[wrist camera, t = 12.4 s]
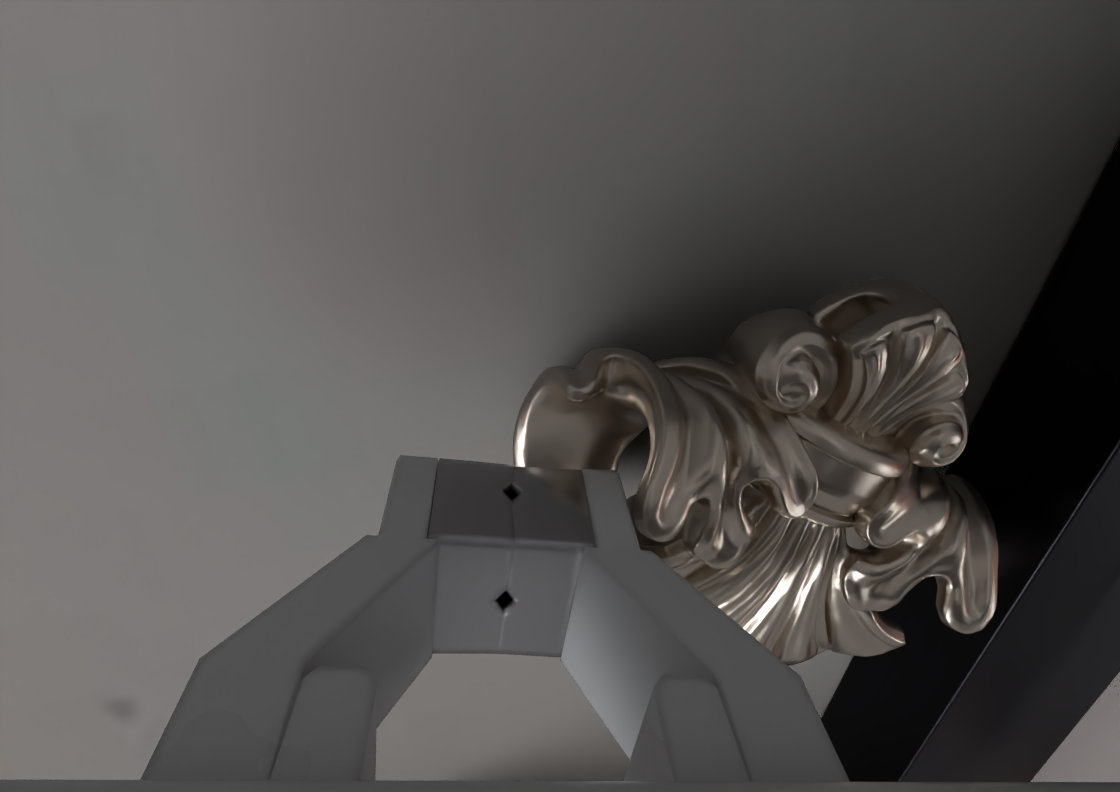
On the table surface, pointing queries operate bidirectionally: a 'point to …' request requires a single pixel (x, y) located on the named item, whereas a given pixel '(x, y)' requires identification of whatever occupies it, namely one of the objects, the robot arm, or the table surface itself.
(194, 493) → the table surface
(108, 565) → the table surface
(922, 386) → the ornament
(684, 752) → the robot arm
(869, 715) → the straightedge
